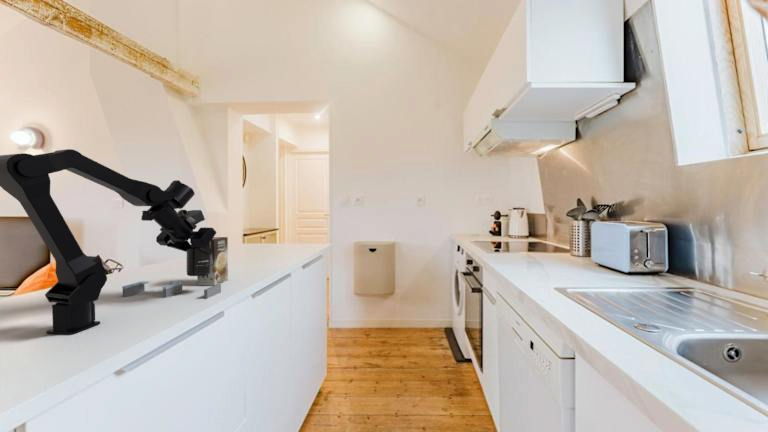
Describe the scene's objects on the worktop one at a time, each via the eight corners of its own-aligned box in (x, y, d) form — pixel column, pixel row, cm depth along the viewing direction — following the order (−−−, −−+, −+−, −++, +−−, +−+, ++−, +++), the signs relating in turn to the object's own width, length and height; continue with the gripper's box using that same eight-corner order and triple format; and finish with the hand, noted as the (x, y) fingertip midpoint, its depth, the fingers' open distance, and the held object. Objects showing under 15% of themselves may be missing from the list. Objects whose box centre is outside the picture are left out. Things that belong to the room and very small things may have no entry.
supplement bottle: (203, 276, 101) (203, 237, 100) (181, 276, 101) (181, 237, 100) (215, 272, 107) (215, 236, 107) (195, 272, 108) (194, 236, 107)
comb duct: (207, 298, 97) (207, 288, 97) (122, 296, 99) (122, 286, 99) (221, 292, 104) (220, 282, 104) (141, 290, 106) (141, 281, 106)
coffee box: (215, 285, 112) (214, 239, 112) (196, 285, 112) (195, 239, 112) (228, 279, 121) (228, 236, 121) (212, 279, 122) (211, 236, 121)
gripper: (210, 200, 97) (238, 235, 107) (164, 201, 103) (195, 233, 113) (187, 228, 89) (220, 262, 100) (139, 227, 95) (175, 259, 106)
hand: (202, 253), depth 105 cm, fingers closed on supplement bottle, 7 cm apart
